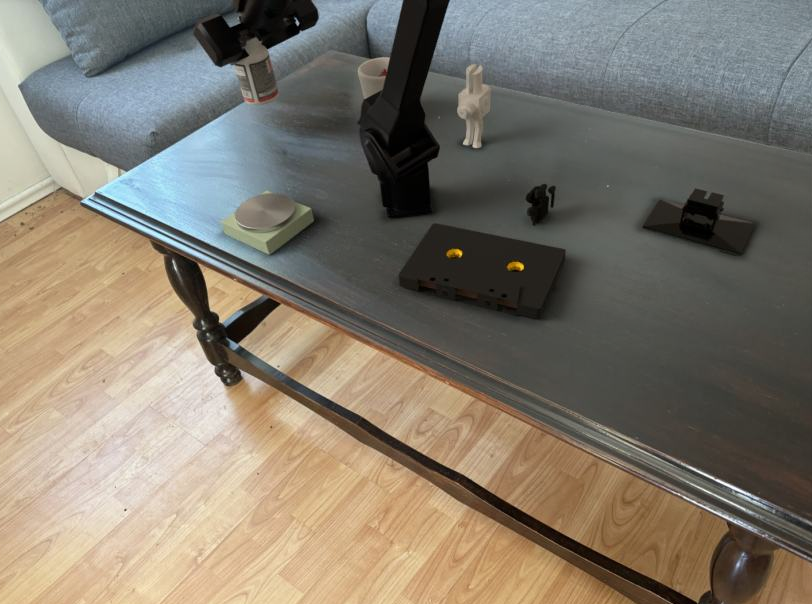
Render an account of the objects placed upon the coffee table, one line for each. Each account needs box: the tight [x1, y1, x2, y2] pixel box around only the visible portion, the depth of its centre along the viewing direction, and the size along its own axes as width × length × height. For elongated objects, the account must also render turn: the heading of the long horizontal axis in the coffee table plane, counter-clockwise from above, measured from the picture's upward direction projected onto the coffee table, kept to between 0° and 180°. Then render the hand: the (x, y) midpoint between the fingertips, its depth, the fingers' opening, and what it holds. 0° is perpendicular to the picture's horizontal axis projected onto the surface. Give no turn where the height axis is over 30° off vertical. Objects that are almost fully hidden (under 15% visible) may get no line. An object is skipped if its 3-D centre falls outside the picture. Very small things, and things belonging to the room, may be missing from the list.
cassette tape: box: [398, 222, 567, 320], centre depth 82 cm, size 18×12×2 cm, turn 66°
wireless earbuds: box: [525, 183, 557, 227], centre depth 88 cm, size 7×2×5 cm, turn 142°
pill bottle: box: [233, 38, 279, 106], centre depth 103 cm, size 6×6×10 cm
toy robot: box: [456, 63, 492, 149], centre depth 101 cm, size 4×8×12 cm, turn 147°
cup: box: [357, 56, 425, 100], centre depth 111 cm, size 11×8×8 cm
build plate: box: [641, 188, 756, 256], centre depth 84 cm, size 12×7×5 cm, turn 57°
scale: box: [220, 190, 315, 256], centre depth 92 cm, size 9×9×3 cm
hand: (246, 55), depth 102 cm, fingers closed on pill bottle, 6 cm apart
